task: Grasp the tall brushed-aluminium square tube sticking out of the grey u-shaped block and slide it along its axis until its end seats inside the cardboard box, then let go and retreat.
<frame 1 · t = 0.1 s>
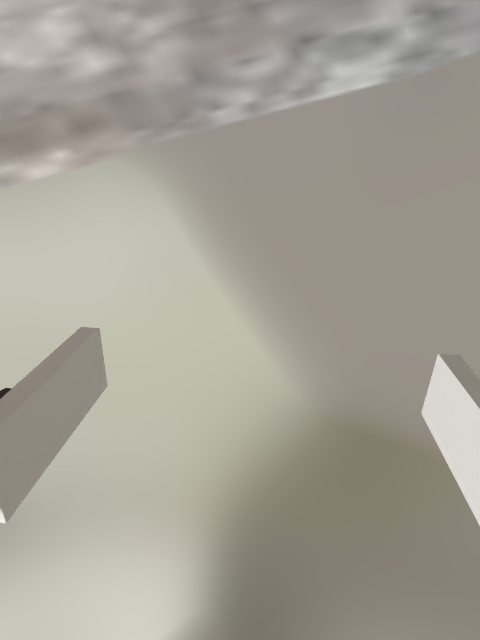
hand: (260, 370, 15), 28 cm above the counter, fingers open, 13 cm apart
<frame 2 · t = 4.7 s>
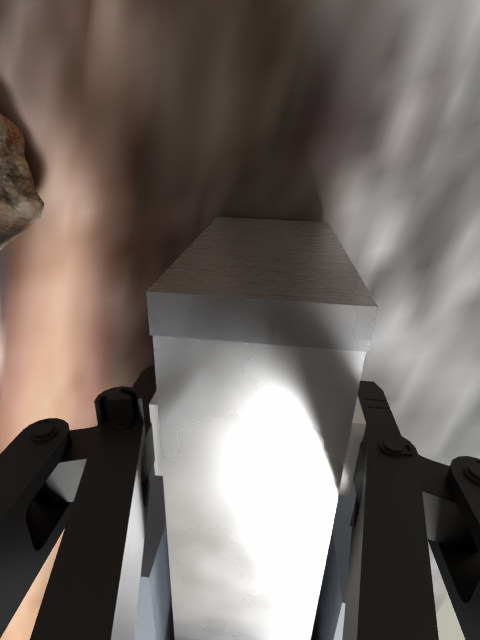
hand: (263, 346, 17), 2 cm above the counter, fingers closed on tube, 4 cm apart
tube: (254, 465, 15), point 5 cm above the counter, slide at 0.0 cm, touching gripper
grey u-shaped block: (257, 455, 22), on the counter
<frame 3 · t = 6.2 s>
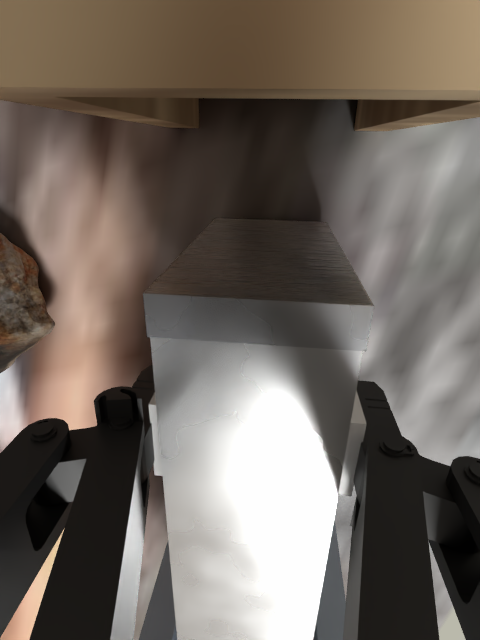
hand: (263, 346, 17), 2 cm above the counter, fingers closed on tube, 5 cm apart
cardboard box: (280, 35, 14), on the counter
tube: (255, 466, 15), point 5 cm above the counter, slide at 5.4 cm, touching gripper
grey u-shaped block: (256, 521, 24), on the counter
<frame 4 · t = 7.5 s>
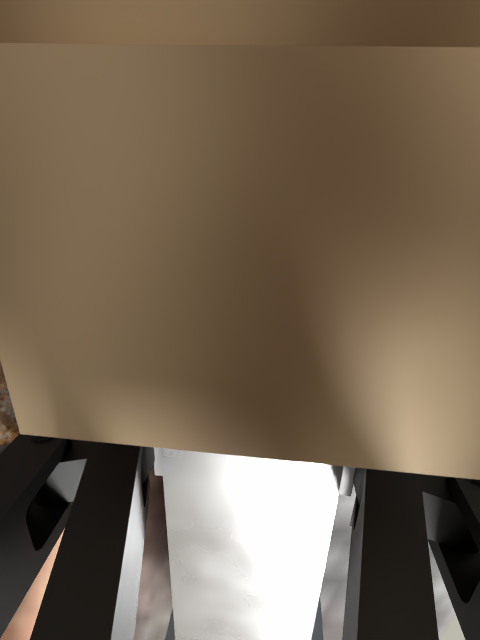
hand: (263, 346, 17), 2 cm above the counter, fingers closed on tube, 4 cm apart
cardboard box: (273, 198, 16), on the counter
tube: (254, 465, 15), point 5 cm above the counter, slide at 11.0 cm, touching gripper
grey u-shaped block: (250, 576, 26), on the counter
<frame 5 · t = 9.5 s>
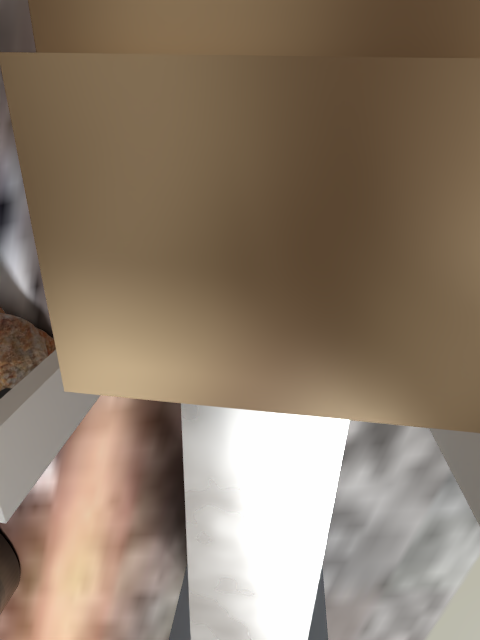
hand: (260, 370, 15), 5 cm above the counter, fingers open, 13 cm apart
cardboard box: (282, 192, 17), on the counter
tube: (263, 441, 16), point 5 cm above the counter, slide at 11.1 cm
grey u-shaped block: (255, 557, 27), on the counter
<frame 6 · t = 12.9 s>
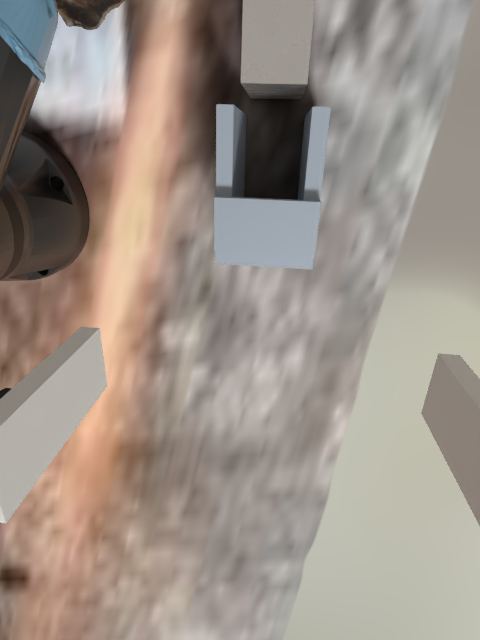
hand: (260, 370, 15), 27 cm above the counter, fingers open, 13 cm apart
grey u-shaped block: (272, 174, 37), on the counter
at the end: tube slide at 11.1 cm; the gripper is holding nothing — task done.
